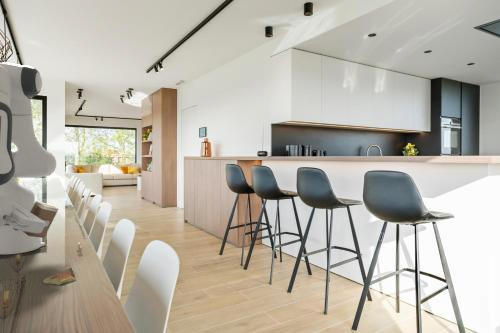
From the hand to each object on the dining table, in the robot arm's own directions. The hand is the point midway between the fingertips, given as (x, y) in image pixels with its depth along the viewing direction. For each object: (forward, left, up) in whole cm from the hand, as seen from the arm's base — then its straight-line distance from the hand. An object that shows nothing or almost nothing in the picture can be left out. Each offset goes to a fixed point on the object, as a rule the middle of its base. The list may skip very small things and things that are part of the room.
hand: (42, 219), depth 105 cm
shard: (+13, +1, -17) cm, 21 cm away
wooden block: (-1, -3, -4) cm, 5 cm away
